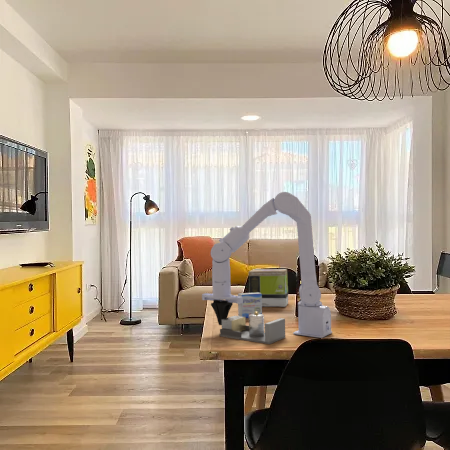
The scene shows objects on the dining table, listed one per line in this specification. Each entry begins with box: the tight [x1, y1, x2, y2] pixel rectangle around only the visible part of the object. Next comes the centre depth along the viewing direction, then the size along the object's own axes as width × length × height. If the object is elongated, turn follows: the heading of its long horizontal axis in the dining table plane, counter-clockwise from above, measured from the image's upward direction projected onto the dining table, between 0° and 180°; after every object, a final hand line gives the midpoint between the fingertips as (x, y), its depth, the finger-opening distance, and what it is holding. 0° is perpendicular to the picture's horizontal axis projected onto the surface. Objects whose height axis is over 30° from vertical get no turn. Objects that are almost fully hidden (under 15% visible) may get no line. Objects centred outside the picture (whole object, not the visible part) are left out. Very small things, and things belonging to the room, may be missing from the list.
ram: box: [221, 315, 247, 332], centre depth 143 cm, size 4×7×4 cm, turn 143°
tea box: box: [248, 268, 289, 308], centre depth 193 cm, size 15×10×15 cm
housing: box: [248, 312, 265, 337], centre depth 138 cm, size 4×4×7 cm
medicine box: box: [237, 292, 263, 319], centre depth 169 cm, size 8×4×9 cm, turn 105°
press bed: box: [219, 317, 286, 345], centre depth 139 cm, size 18×9×6 cm, turn 53°
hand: (222, 324), depth 145 cm, fingers closed
